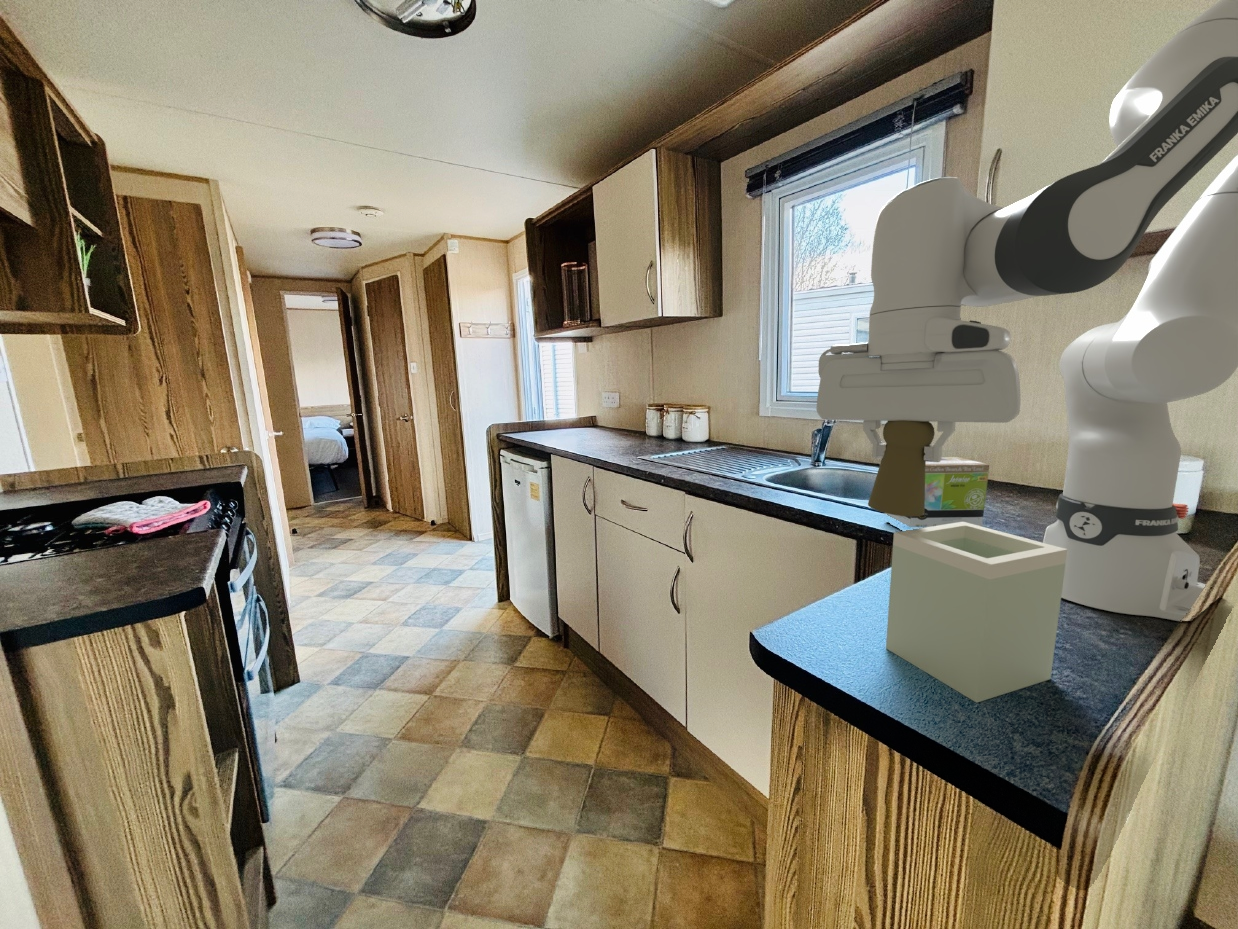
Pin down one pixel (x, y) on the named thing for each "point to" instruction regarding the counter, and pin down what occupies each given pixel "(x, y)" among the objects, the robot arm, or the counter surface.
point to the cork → (902, 469)
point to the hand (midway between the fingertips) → (905, 459)
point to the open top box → (975, 607)
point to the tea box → (952, 493)
